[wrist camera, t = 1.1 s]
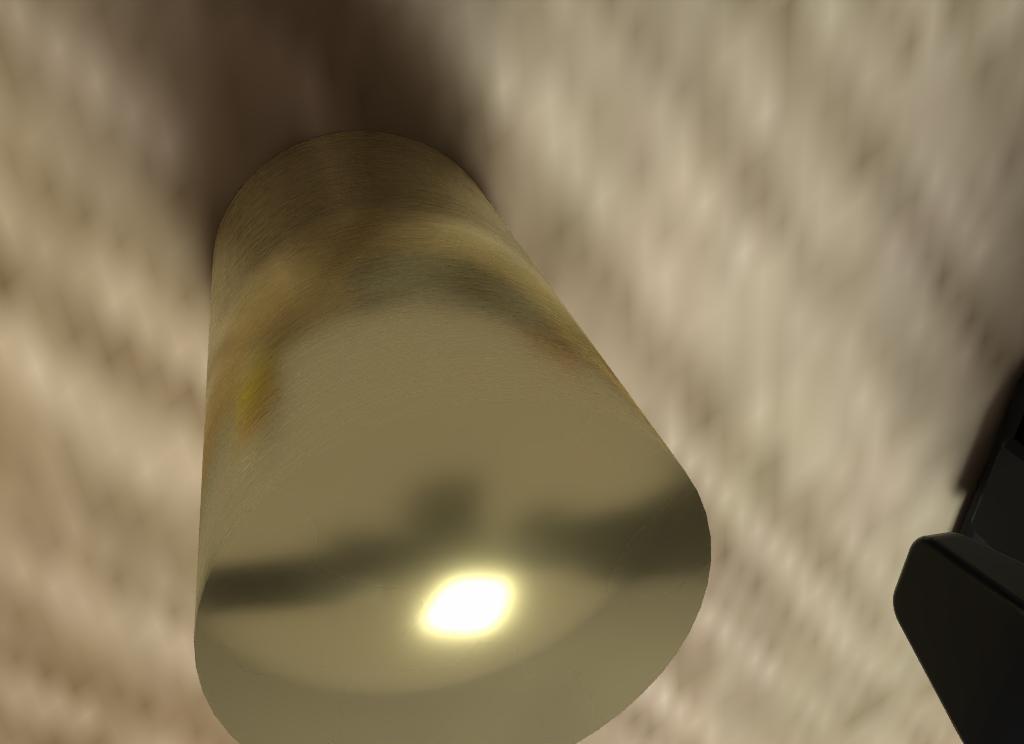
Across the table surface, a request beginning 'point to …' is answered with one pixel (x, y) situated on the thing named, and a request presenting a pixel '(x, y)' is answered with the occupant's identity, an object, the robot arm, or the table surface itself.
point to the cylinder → (421, 474)
